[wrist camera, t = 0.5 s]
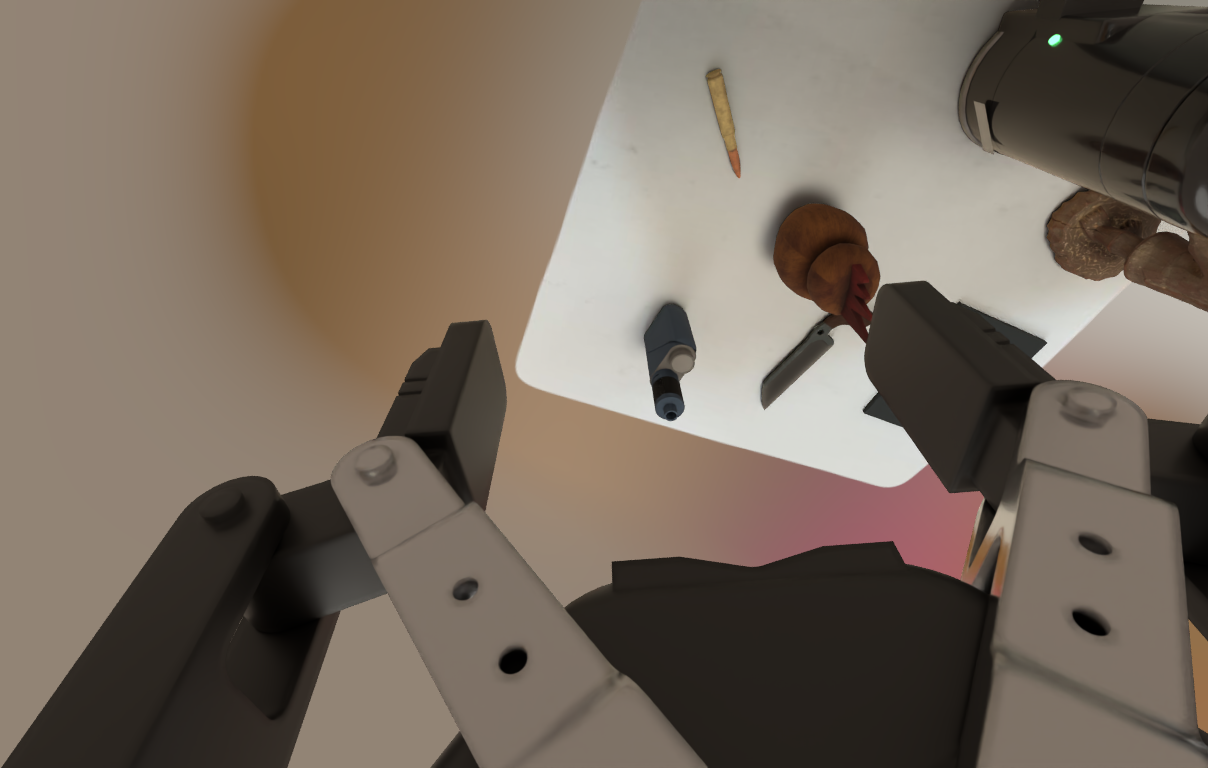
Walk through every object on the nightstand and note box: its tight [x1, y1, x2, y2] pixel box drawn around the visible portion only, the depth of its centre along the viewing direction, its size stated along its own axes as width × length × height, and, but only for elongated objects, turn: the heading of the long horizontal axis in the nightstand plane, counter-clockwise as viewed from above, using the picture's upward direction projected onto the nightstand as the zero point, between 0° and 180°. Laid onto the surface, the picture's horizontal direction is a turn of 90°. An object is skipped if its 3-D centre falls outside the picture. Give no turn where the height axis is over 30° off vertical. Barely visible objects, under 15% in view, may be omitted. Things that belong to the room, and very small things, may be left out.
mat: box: [863, 303, 1047, 427], centre depth 56 cm, size 14×11×1 cm
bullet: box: [706, 69, 740, 178], centre depth 42 cm, size 8×1×1 cm
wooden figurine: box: [773, 203, 880, 343], centre depth 41 cm, size 7×6×15 cm
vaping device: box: [644, 304, 696, 421], centre depth 47 cm, size 3×5×12 cm, turn 152°
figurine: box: [1047, 190, 1208, 312], centre depth 39 cm, size 9×8×20 cm
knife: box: [762, 311, 873, 410], centre depth 54 cm, size 14×4×1 cm, turn 146°
